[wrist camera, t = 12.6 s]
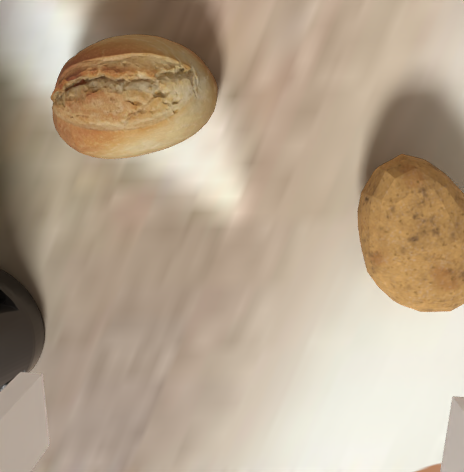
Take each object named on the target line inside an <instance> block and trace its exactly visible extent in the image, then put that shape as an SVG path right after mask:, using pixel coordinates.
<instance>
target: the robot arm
mask: <svg viewBox="0 0 464 472" xmlns="http://www.w3.org/2000/svg"><path fill="white" fill-rule="evenodd" d="M43 344H44V327H43V321H42V318H41V314H40V312H39V309H38V307H37V305H36V303H35V301H34V300H33V298H32V297H31V295H30V294H29V293H28V291H27V290H26V289H25V288H24V287H23V286H22V285H21V284H20V283H19V282H18V281H17V280H16V279H15V278H13V277H12V276H11V275H9V274H8V273H6V272H4V271H3V270H1V269H0V472H31V471H32V470H33V469H34V467H35V466H36V464H37V463H38V461H39V460H40V458H41V457H42V455H43V454H44V452H45V451H46V449H47V448H48V447H49V445H50V442H49V432H48V422H47V411H46V401H45V391H44V380H43V373H29V372H30V371H31V370H32V369H33V367H34V366H35V365H36V363H37V361H38V360H39V358H40V355H41V352H42V349H43ZM441 472H464V397H452V403H451V410H450V416H449V422H448V428H447V434H446V440H445V446H444V452H443V459H442V465H441Z"/></svg>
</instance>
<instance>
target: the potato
mask: <svg viewBox="0 0 464 472" xmlns="http://www.w3.org/2000/svg"><path fill="white" fill-rule="evenodd" d="M358 230H359V236H360V242H361V248H362V252H363V256H364V260H365V264H366V268H367V272H368V273H369V274H370V276H371V277H372V279H373V280H374V281H375V283H376V284H377V286H378V287H379V288H380V289H381V290H382V291H384V292H385V293H386V294H387V295H388V296H389V297H390V298H391V299H392V300H394V301H395V302H397V303H399V304H401V305H403V306H406V307H409V308H412V309H415V310H418V311H421V312H438V311H452V310H453V309H455V308H457V307H459V306H461V305H462V304H464V194H463V192H462V191H461V190H460V189H459V188H458V187H457V186H456V185H455V184H454V183H453V181H452V180H451V179H450V178H449V177H448V176H447V175H446V174H445V173H443V172H442V171H441V170H439V169H438V168H436V167H435V166H433V165H432V164H431V163H429V162H427V161H426V160H424V159H421V158H417V157H412V156H408V155H404V154H401V155H399V156H397V157H395V158H394V159H392V160H390V161H388V162H386V163H384V164H383V165H381V166H379V167H377V168H376V170H375V171H374V172H373V174H372V175H371V177H370V179H369V180H368V182H367V184H366V185H365V187H364V189H363V190H362V192H361V197H360V202H359V207H358Z"/></svg>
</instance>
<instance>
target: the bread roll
mask: <svg viewBox="0 0 464 472" xmlns="http://www.w3.org/2000/svg"><path fill="white" fill-rule="evenodd" d="M217 90H218V87H217V84H216V81H215V78H214V77H213V75H212V73H211V72H210V70H209V69H208V67H207V66H206V65H205V63H204V62H203V61H202V60H201V59H200V58H199V57H198V56H197V55H196V54H195V53H194V52H193V51H191V50H189V49H187V48H186V47H184V46H183V45H181V44H178V43H176V42H173V41H170V40H168V39H165V38H162V37H158V36H151V35H142V34H133V35H123V36H115V37H111V38H107V39H104V40H101V41H99V42H97V43H95V44H92V45H90V46H88V47H87V48H85V49H83V50H82V51H80V52H79V53H78V54H76V55H75V56H74V57H72V58H71V59H69V61H68V62H67V63H66V64H65V65H64V66H63V68H62V70H61V72H60V74H59V76H58V79H57V83H56V86H55V89H54V91H53V93H52V95H51V100H52V101H53V107H52V110H53V121H54V125H55V128H56V130H57V131H58V133H59V135H60V137H61V138H62V139H63V140H64V141H65V142H66V143H67V144H68V145H69V146H70V147H72V148H74V149H75V150H77V151H78V152H81V153H83V154H85V155H89V156H92V157H97V158H106V159H115V158H128V157H135V156H140V155H144V154H149V153H152V152H156V151H160V150H163V149H166V148H169V147H171V146H173V145H176V144H178V143H180V142H182V141H184V140H186V139H188V138H189V137H191V136H193V135H194V134H195V133H197V132H198V131H199V130H200V129H201V128H202V127H203V126H204V125H205V124H206V123H207V122H208V120H209V119H210V117H211V115H212V113H213V112H214V109H215V106H216V102H217Z"/></svg>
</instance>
